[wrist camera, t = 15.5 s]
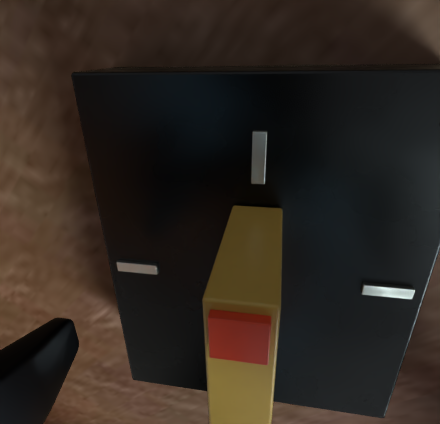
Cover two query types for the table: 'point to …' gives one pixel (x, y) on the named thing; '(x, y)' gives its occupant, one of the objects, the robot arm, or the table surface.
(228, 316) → the yellow block red patch
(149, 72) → the plate
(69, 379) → the table surface
